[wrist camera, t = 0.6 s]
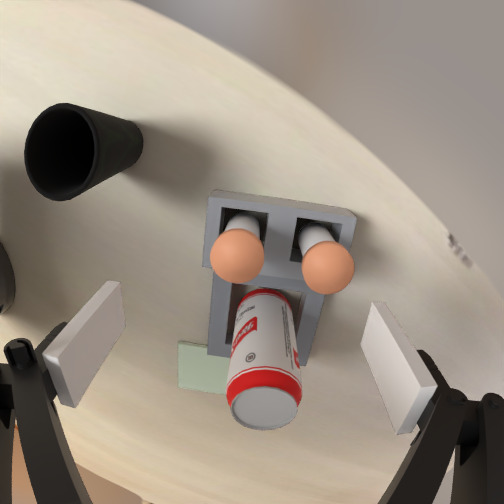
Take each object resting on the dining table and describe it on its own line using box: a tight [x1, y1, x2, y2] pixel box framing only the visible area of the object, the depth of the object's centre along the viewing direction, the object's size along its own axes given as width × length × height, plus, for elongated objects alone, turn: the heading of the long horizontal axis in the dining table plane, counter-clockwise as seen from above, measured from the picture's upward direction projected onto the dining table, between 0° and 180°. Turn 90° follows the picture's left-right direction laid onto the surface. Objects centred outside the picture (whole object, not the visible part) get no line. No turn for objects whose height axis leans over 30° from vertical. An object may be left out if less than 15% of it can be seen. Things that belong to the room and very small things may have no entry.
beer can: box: [226, 288, 302, 430], centre depth 30 cm, size 6×6×16 cm
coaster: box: [178, 341, 230, 395], centre depth 41 cm, size 8×8×1 cm
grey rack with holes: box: [202, 190, 357, 366], centre depth 34 cm, size 14×19×4 cm
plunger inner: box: [210, 212, 264, 283], centre depth 28 cm, size 4×4×8 cm
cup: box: [24, 103, 143, 201], centre depth 26 cm, size 8×8×12 cm
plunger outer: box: [298, 222, 354, 294], centre depth 28 cm, size 4×4×8 cm
